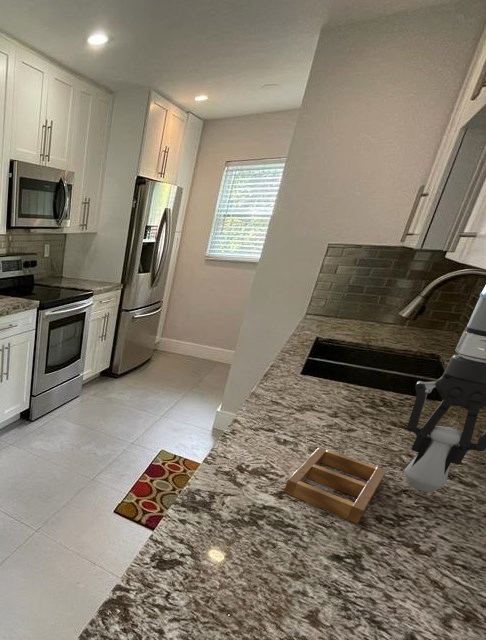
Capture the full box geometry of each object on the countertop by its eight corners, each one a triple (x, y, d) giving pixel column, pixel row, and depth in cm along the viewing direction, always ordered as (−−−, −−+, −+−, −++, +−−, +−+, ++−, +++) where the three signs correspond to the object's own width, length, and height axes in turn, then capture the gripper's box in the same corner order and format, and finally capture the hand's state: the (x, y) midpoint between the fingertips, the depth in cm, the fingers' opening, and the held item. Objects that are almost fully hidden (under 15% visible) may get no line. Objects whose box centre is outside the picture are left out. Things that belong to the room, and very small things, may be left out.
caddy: (381, 481, 86) (386, 469, 85) (357, 524, 74) (363, 510, 73) (315, 457, 95) (319, 446, 94) (283, 492, 82) (287, 479, 81)
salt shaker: (432, 498, 79) (463, 439, 74) (394, 481, 84) (421, 425, 79) (446, 491, 81) (476, 433, 77) (408, 475, 86) (435, 420, 81)
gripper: (418, 350, 76) (370, 459, 85) (559, 376, 65) (487, 498, 73) (423, 344, 81) (377, 448, 89) (557, 367, 69) (489, 483, 78)
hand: (427, 470), depth 81 cm, fingers closed on salt shaker, 3 cm apart
